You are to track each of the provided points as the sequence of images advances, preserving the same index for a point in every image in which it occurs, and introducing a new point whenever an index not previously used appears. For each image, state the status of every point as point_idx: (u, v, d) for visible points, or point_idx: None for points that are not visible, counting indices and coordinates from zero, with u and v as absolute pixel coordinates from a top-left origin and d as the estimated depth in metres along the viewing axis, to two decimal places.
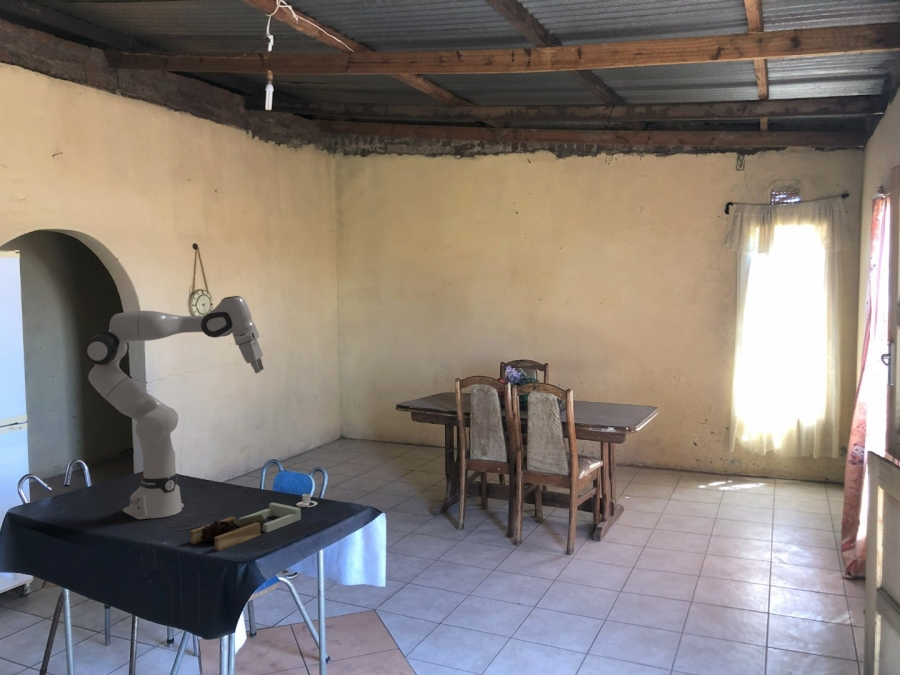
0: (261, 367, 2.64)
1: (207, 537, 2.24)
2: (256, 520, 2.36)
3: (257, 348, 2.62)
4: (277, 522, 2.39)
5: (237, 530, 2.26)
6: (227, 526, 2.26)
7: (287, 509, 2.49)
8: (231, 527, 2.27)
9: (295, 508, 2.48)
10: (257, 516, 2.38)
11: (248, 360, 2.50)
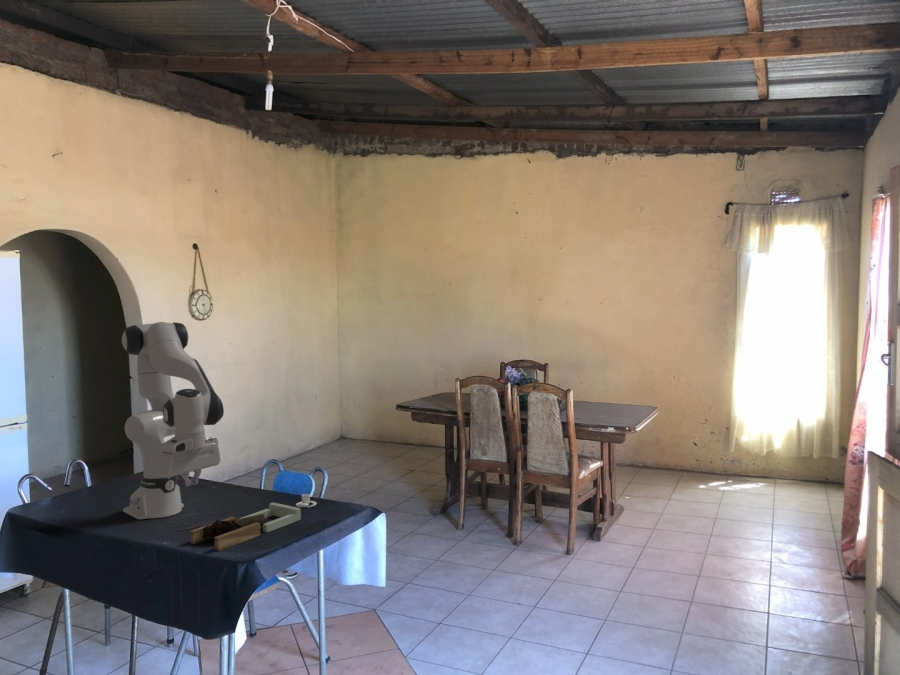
0: (193, 481, 2.18)
1: (208, 536, 2.25)
2: (257, 520, 2.36)
3: (201, 457, 2.18)
4: (277, 522, 2.39)
5: (237, 530, 2.26)
6: (228, 525, 2.27)
7: (287, 509, 2.49)
8: (232, 527, 2.27)
9: (295, 508, 2.48)
10: (258, 516, 2.38)
11: (161, 473, 2.09)
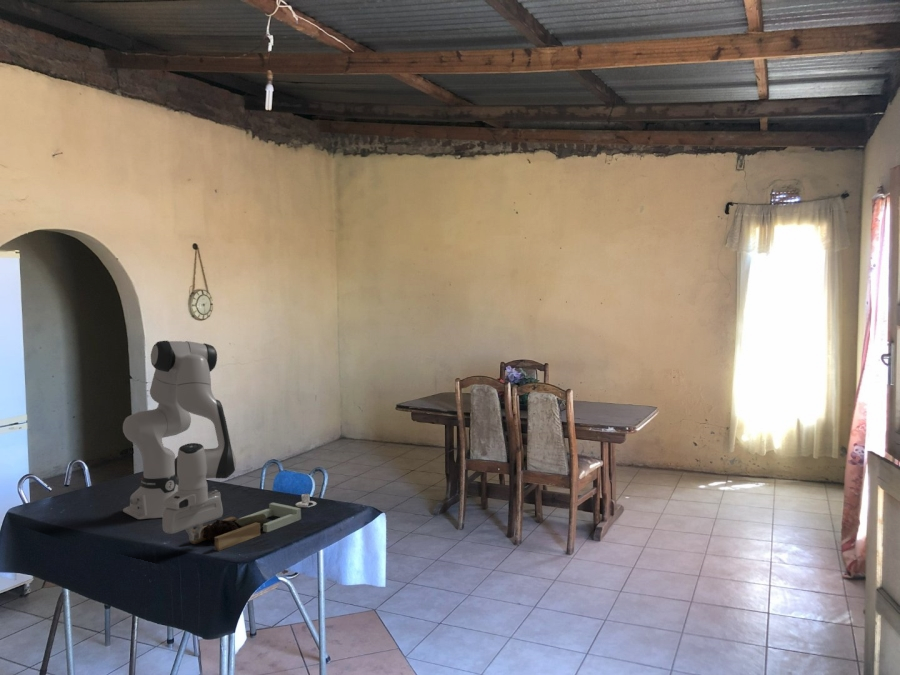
0: None
1: (209, 536, 2.25)
2: (258, 520, 2.37)
3: (204, 511, 2.19)
4: (277, 522, 2.39)
5: (237, 530, 2.26)
6: (228, 525, 2.27)
7: (287, 509, 2.49)
8: (233, 526, 2.28)
9: (295, 508, 2.48)
10: (259, 516, 2.38)
11: (164, 530, 2.10)
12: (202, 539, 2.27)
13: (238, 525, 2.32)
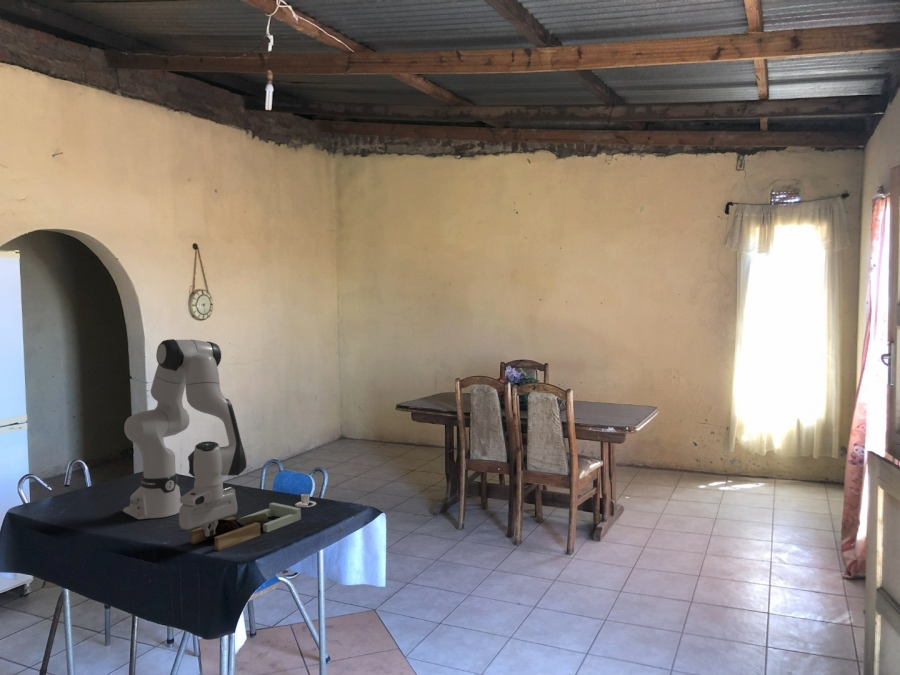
0: None
1: None
2: (259, 519, 2.37)
3: (219, 508, 2.25)
4: (277, 522, 2.39)
5: (237, 530, 2.26)
6: (230, 524, 2.27)
7: (287, 509, 2.49)
8: (234, 525, 2.28)
9: (295, 508, 2.48)
10: (261, 515, 2.38)
11: (180, 525, 2.15)
12: (202, 539, 2.27)
13: (239, 524, 2.32)
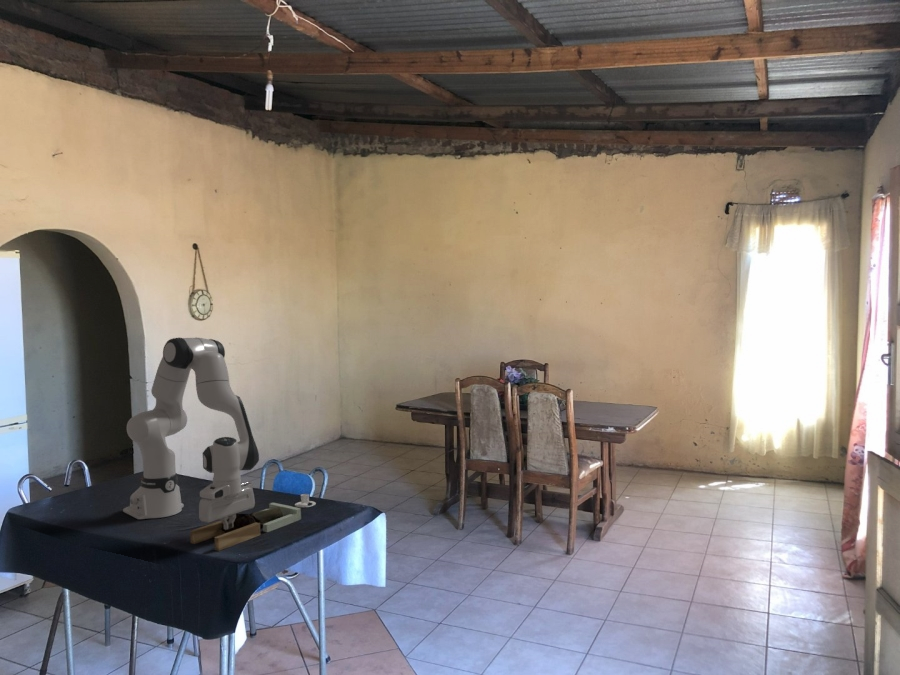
0: None
1: None
2: (274, 513, 2.43)
3: (237, 502, 2.30)
4: (277, 522, 2.39)
5: (237, 530, 2.26)
6: (246, 518, 2.33)
7: (287, 509, 2.49)
8: (250, 519, 2.34)
9: (295, 508, 2.48)
10: (275, 509, 2.44)
11: (200, 518, 2.21)
12: (202, 539, 2.27)
13: (255, 518, 2.38)
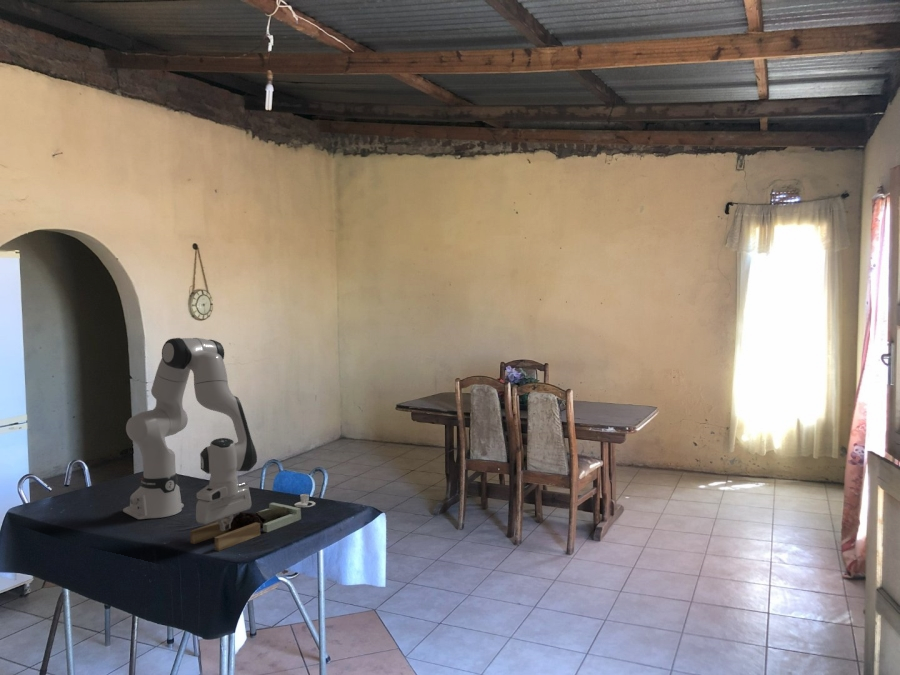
0: None
1: (232, 527, 2.33)
2: (279, 512, 2.45)
3: (234, 503, 2.30)
4: (277, 522, 2.39)
5: (237, 530, 2.26)
6: (251, 517, 2.35)
7: (287, 509, 2.49)
8: (255, 518, 2.36)
9: (295, 508, 2.48)
10: (280, 508, 2.46)
11: (197, 520, 2.20)
12: (202, 539, 2.27)
13: (260, 517, 2.40)
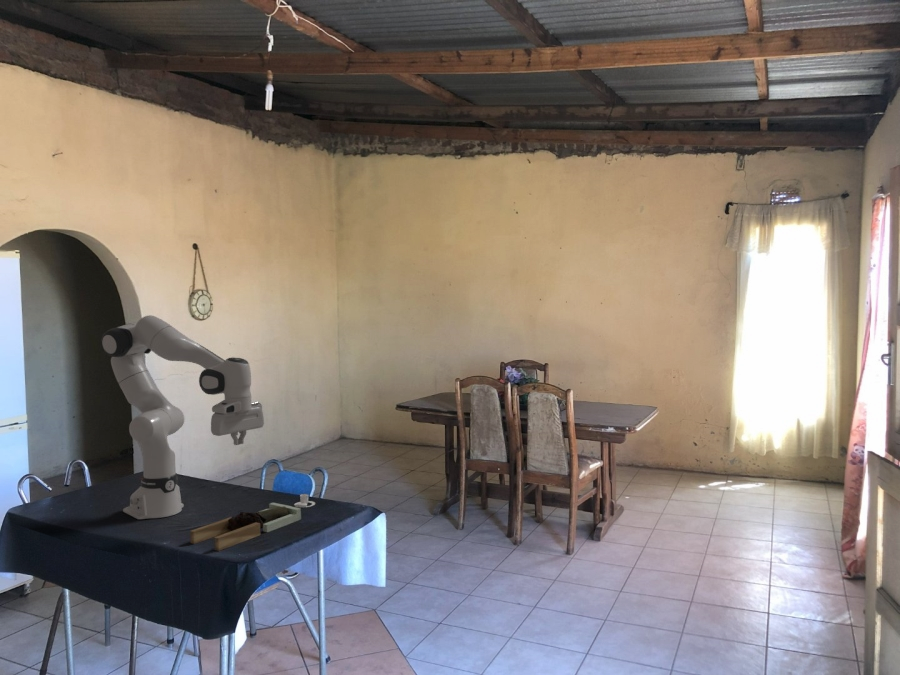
0: None
1: (233, 527, 2.34)
2: (280, 512, 2.45)
3: (247, 419, 2.41)
4: (277, 522, 2.39)
5: (237, 530, 2.26)
6: (252, 517, 2.35)
7: (287, 509, 2.49)
8: (256, 518, 2.36)
9: (295, 508, 2.48)
10: (281, 508, 2.46)
11: (212, 432, 2.32)
12: (202, 539, 2.27)
13: (261, 517, 2.40)
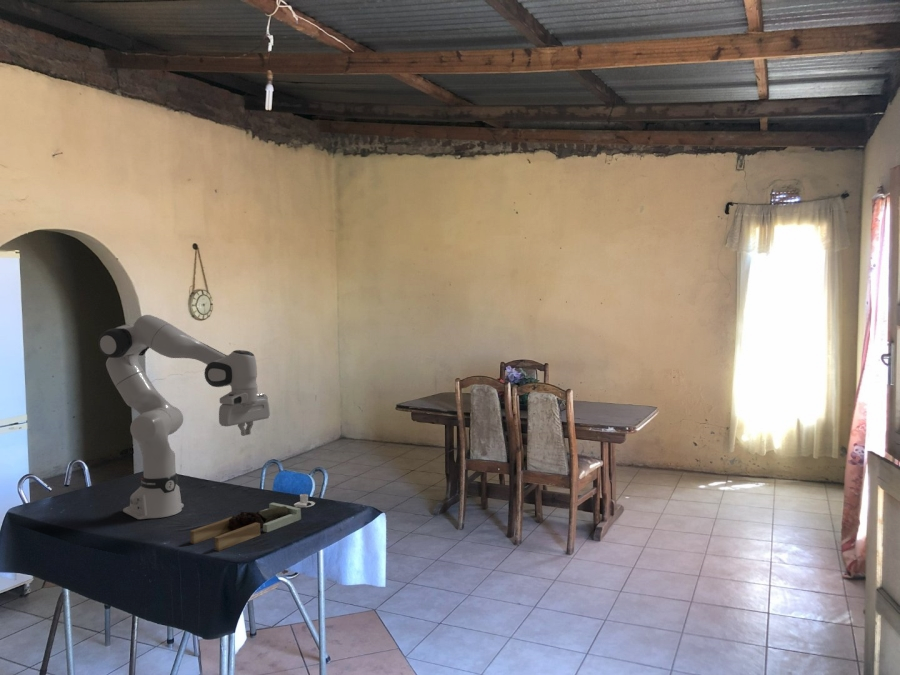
0: None
1: (234, 527, 2.34)
2: (280, 511, 2.45)
3: (254, 410, 2.46)
4: (277, 522, 2.39)
5: (237, 530, 2.26)
6: (253, 517, 2.36)
7: None
8: (257, 518, 2.36)
9: (295, 508, 2.48)
10: (281, 508, 2.47)
11: (220, 422, 2.37)
12: (202, 539, 2.27)
13: (261, 517, 2.40)
